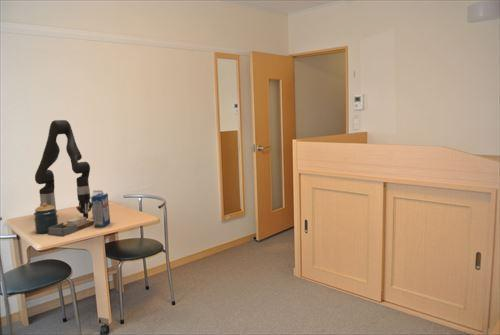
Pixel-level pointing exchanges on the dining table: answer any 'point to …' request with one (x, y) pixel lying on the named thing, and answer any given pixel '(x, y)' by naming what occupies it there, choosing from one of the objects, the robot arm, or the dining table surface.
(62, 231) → the tray
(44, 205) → the canister
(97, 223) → the milk carton
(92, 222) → the board
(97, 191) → the milk carton
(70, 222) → the tile
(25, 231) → the dining table surface
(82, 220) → the tile
